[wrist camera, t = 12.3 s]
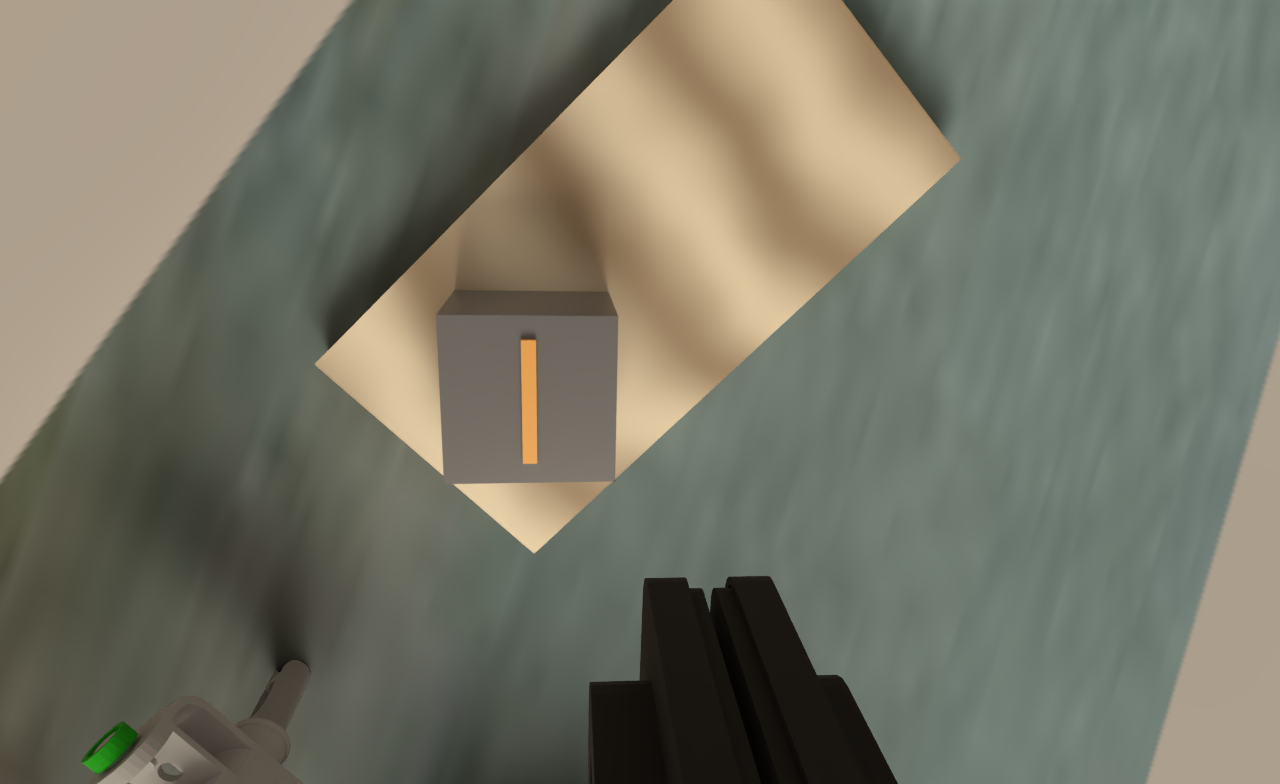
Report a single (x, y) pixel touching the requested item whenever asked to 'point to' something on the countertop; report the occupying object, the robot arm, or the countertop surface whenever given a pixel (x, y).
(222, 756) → the mechanical component
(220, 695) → the countertop surface
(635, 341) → the light wood flat block
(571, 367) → the grey and orange block
